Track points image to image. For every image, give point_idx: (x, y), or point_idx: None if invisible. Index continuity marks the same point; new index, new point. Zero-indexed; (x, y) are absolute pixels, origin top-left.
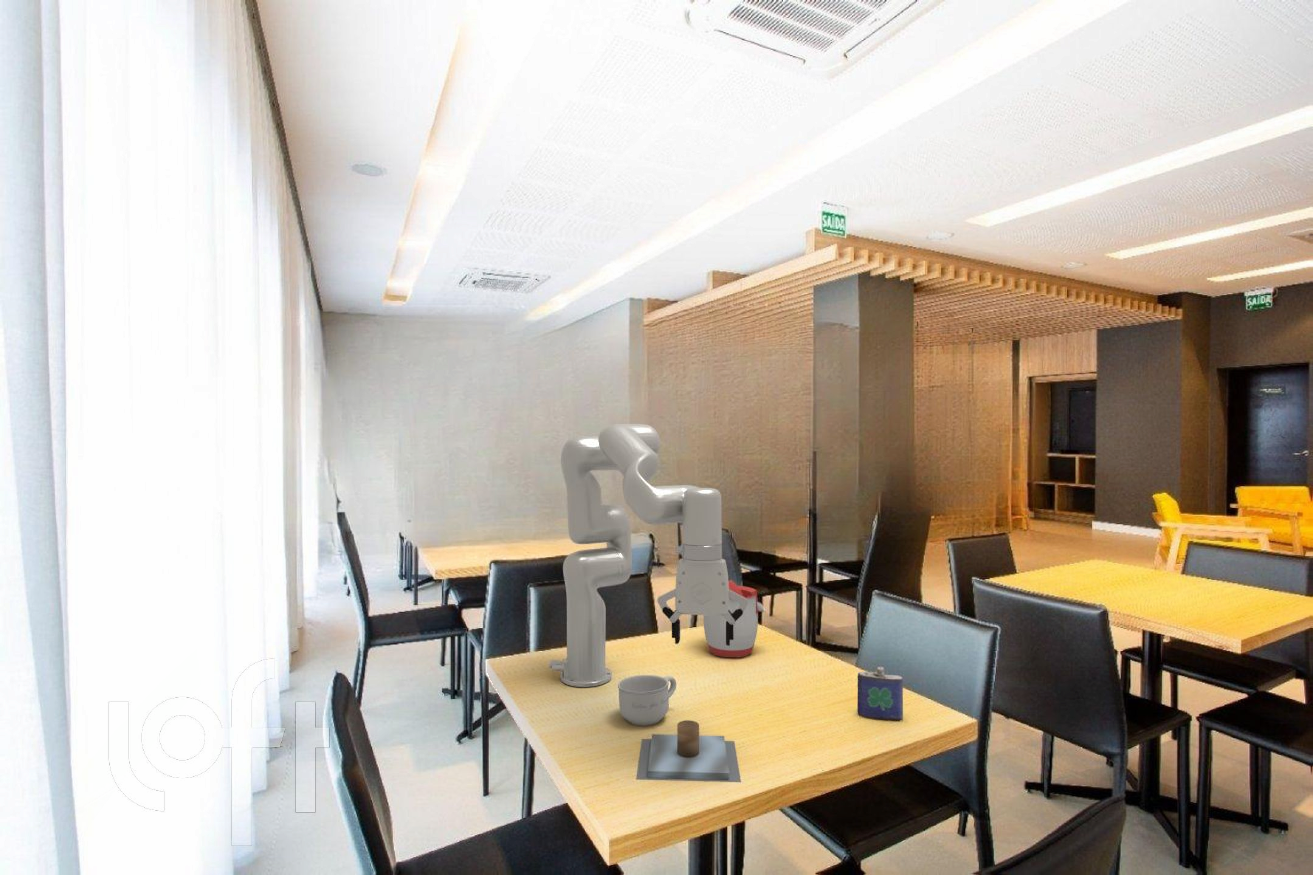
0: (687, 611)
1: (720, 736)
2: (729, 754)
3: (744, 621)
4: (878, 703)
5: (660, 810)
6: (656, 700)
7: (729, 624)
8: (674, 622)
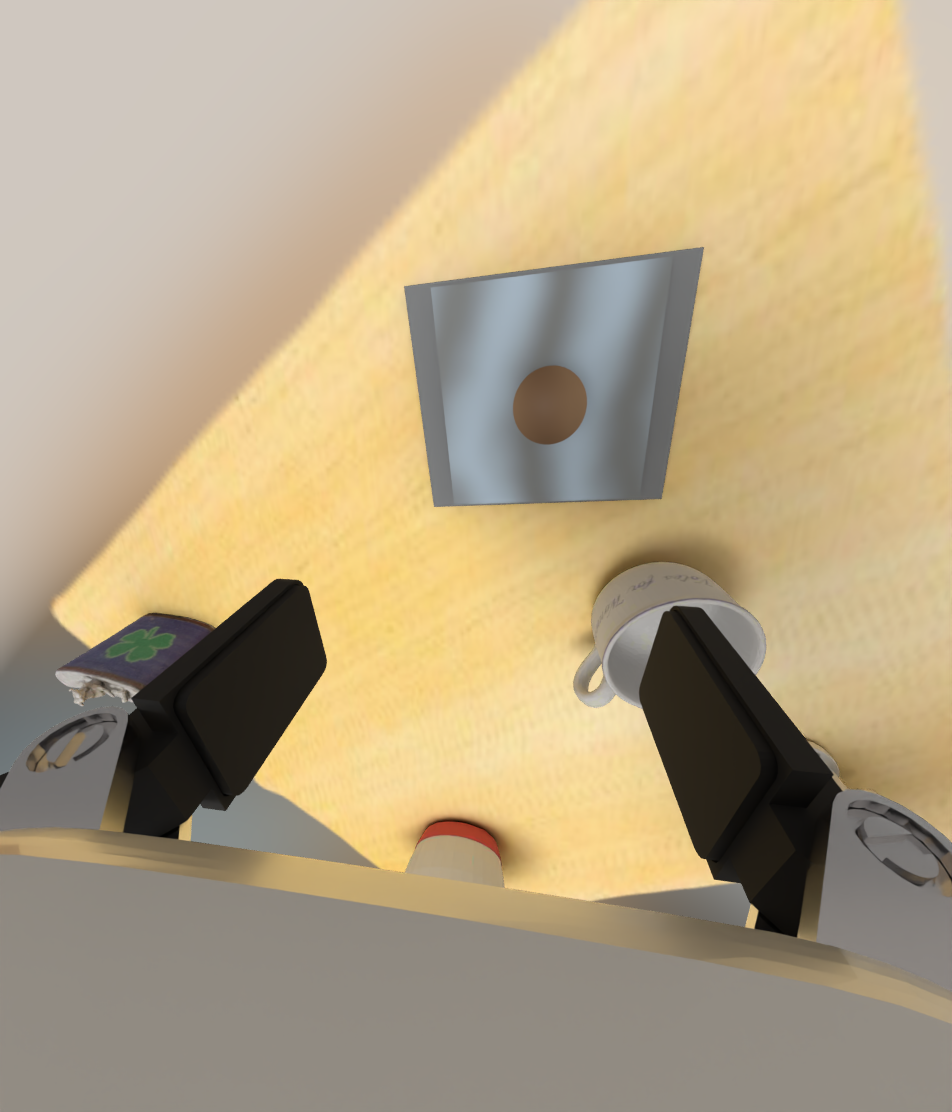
0: (814, 1057)
1: (462, 500)
2: (441, 438)
3: None
4: (154, 636)
5: (638, 43)
6: (637, 594)
7: (137, 706)
8: (814, 801)
